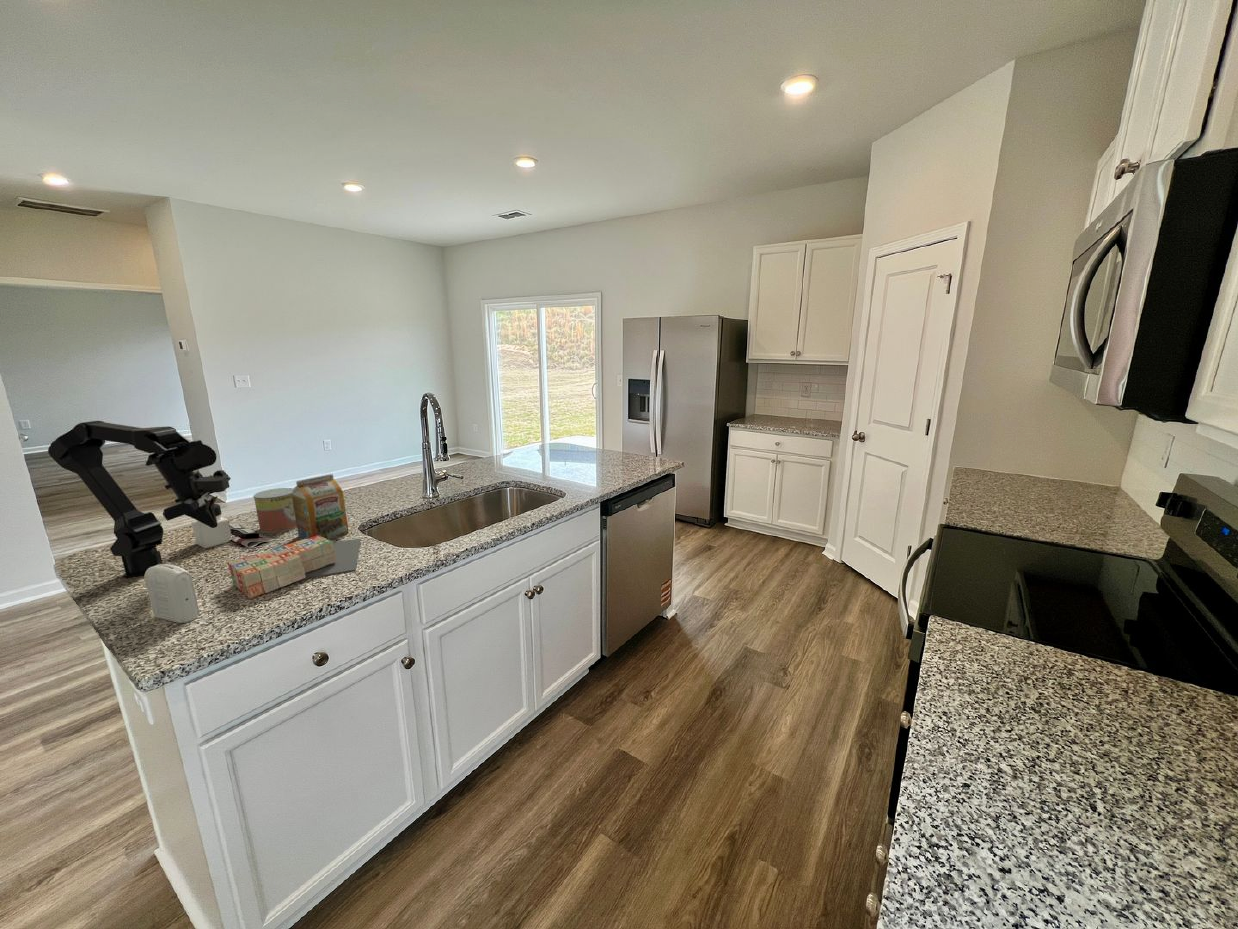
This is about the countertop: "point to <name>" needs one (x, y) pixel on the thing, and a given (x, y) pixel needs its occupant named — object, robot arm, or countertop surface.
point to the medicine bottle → (212, 531)
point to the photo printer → (171, 593)
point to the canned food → (275, 510)
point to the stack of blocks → (281, 565)
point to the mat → (339, 559)
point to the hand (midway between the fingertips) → (215, 527)
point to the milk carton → (319, 508)
